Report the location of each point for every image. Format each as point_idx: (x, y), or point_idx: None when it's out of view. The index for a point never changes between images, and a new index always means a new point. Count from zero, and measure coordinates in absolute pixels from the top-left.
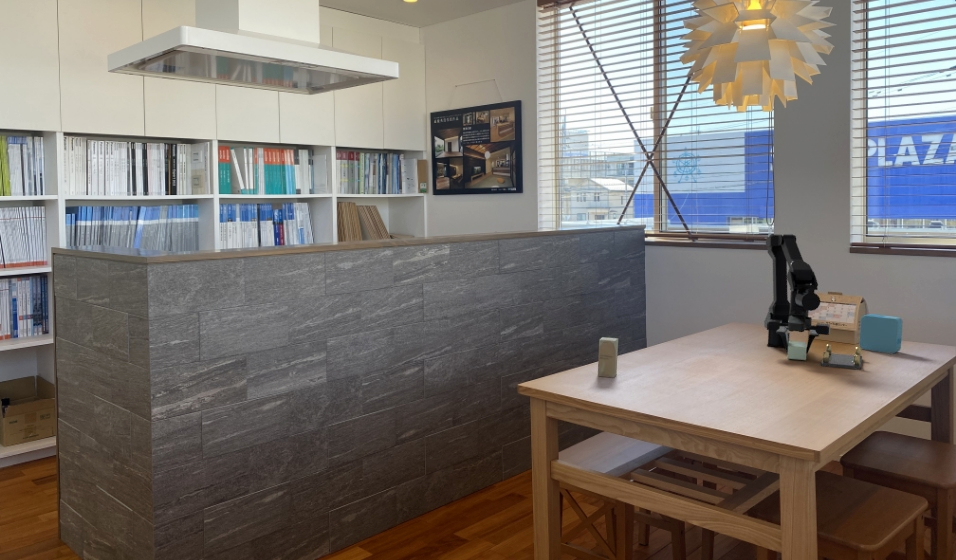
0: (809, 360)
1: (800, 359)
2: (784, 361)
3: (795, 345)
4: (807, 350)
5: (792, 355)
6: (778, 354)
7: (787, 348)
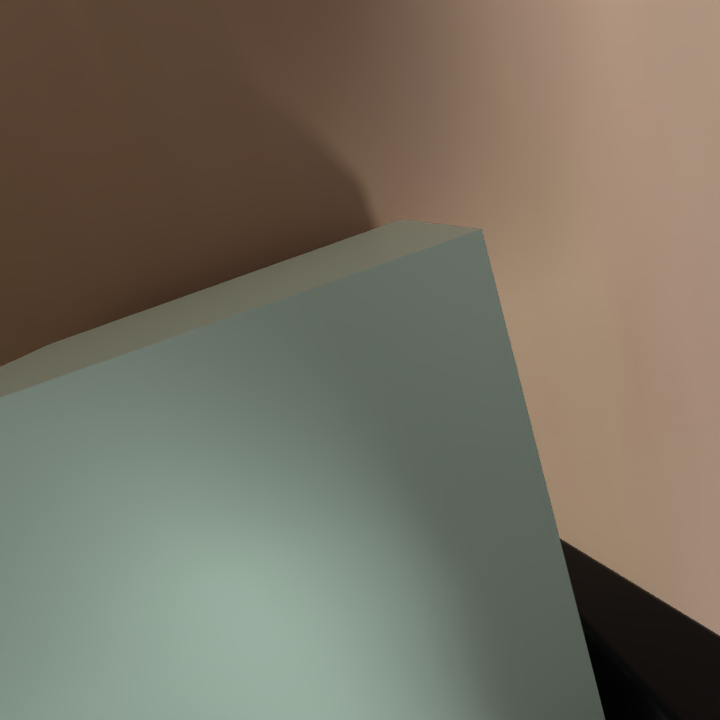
0: None
1: (148, 309)
2: (396, 20)
3: (292, 617)
4: None
5: (296, 259)
6: (656, 569)
7: None
